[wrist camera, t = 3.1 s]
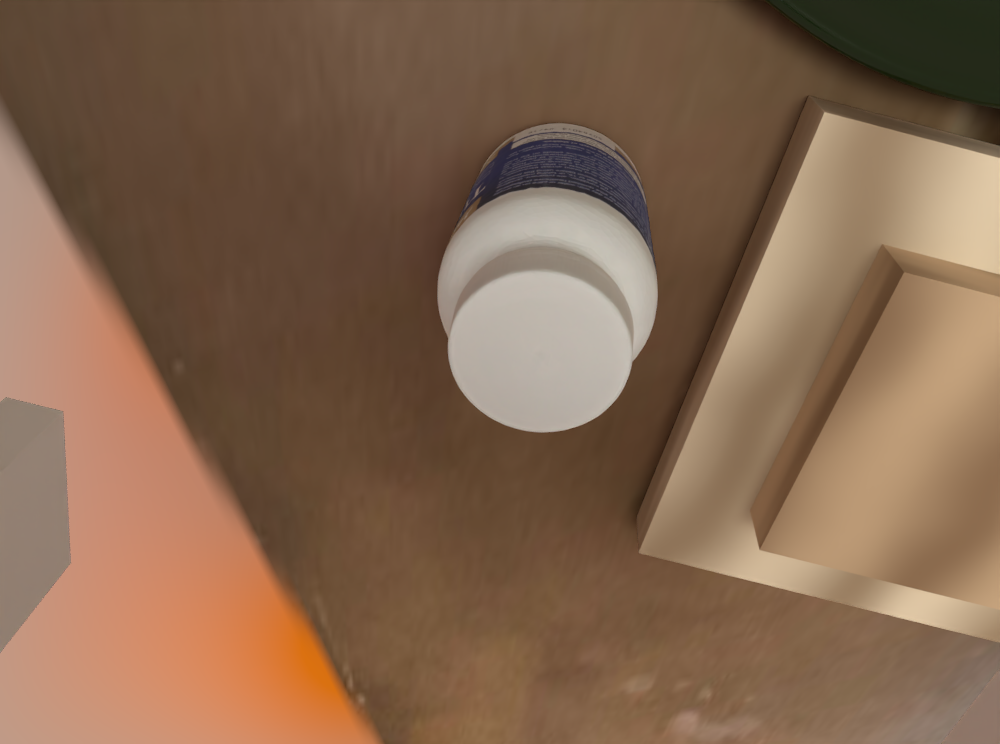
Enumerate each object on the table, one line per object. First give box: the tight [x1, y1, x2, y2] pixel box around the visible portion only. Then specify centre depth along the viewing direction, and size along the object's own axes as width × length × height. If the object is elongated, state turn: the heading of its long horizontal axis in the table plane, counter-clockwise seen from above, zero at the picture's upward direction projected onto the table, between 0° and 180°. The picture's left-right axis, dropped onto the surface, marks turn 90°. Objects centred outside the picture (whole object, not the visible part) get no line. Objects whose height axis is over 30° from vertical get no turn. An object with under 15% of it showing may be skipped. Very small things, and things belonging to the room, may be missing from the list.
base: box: [636, 96, 1000, 643], centre depth 27 cm, size 16×16×4 cm
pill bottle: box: [437, 123, 658, 432], centre depth 22 cm, size 5×5×10 cm
